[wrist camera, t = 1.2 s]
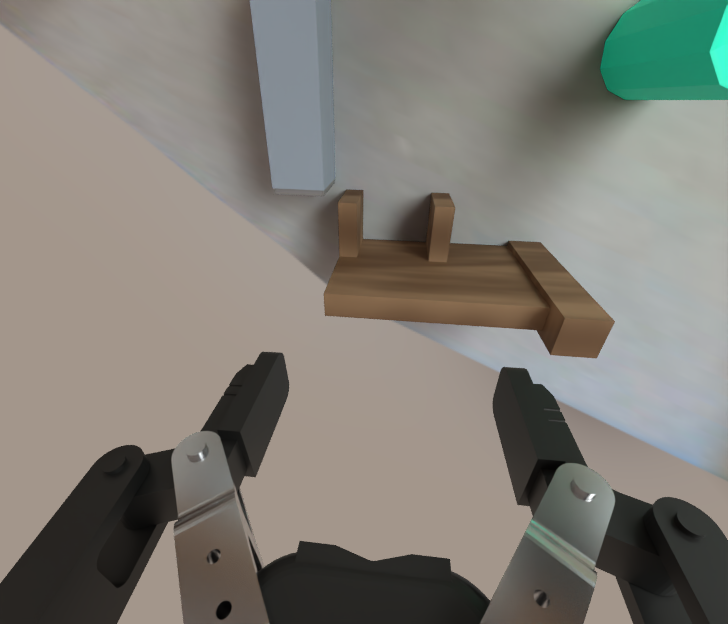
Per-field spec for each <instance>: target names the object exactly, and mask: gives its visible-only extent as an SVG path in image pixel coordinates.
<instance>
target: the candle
mask: <svg viewBox="0 0 728 624" xmlns="http://www.w3.org/2000/svg"><path fill="white" fill-rule="evenodd" d="M600 71H601V74H602V77H603V79H604V82H605V85H606V88H607V90H608V91H610V92H612V93H613V94H615V95H617V96H619V97H621V98H622V99H624V100H728V0H641V1H639V2H638V3H637V4H635V5H634V6H633V7H631V8H630V9H629V10H627V11H626V12H625V13H623V15H622V16H621V18H620V19H619V21H618V23H617V24H616V26H615V27H614V29H613V30H612V32H611V33H610V35H609V37H608V38H607V40H606V41H605V46H604V51H603V56H602V61H601V66H600Z"/></svg>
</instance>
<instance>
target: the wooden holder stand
mask: <svg viewBox="0 0 728 624" xmlns="http://www.w3.org/2000/svg"><path fill="white" fill-rule="evenodd" d="M454 213H455V206H454V203H453V201H452V199H451V197H450V195H449V193H431V202H430V210H429V219H428V228H427V236H426V242H414V241H393V240H373V239H363V190H346V191H345V193H344V194H343V196H342V197H341V199H340V200H339V202H338V222H339V256H340V257H339V259H338V261H337V264H336V266H335V268H334V271H333V273H332V275H331V278H330V280H329V282H328V285H327V287H326V290H325V292H324V304H325V305H324V306H325V316H340V317H354V318H369V319H383V320H397V321H412V322H427V323H441V324H456V325H471V326H485V327H500V328H514V329H529V330H537V332H538V334H539V335H540V337H541V339H542V341H543V343H544V344H545V346H546V348H547V350H548V351H549V353H550V355H559V356H572V357H586V358H597V357H598V355H599V353H600V351H601V349H602V347H603V345H604V343H605V340H606V338H607V336H608V334H609V332H610V330H611V328H612V326H613V324H614V322H615V321H614V320H613V319H612V318H611V317H610V316H609V315H608V314H607V313H606V312H605V310H604V309H603V308H602V307H601V306H600V305H599V304H598V303H597V302H596V301H595V300H594V299H593V298H592V297H591V296H590V294H589V293H588V292H587V291H586V290H585V289H584V288H583V287H582V286H581V285H580V284H579V283H578V282H577V281H576V280H575V279H574V277H573V276H572V275H571V274H570V273H569V272H568V271H567V270H566V269H565V268H564V267H563V266H562V265H561V264H560V263H559V262H558V260H557V259H556V258H555V257H554V256H553V255H552V254H551V253H550V252H549V251H548V250H547V249H546V248H545V247H544V246H543V245H542V243H541V242H522V241H509V242H508V246H496V245H476V244H455V243H450V238H451V232H452V225H453V219H454Z"/></svg>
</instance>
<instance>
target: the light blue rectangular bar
mask: <svg viewBox="0 0 728 624" xmlns="http://www.w3.org/2000/svg"><path fill="white" fill-rule="evenodd" d="M250 8H251V16H252V24H253V32H254V41H255V49H256V57H257V65H258V73H259V82H260V90H261V98H262V106H263V115H264V123H265V131H266V139H267V148H268V156H269V164H270V172H271V180H272V188H274V191H275V194H283V195H304V196H324V195H325V194H326V192H327V191H328V190H329V189H330V188H331V187H332V185H333V184H334V179H335V141H334V100H333V60H332V20H331V0H250Z"/></svg>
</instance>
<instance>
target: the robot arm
mask: <svg viewBox="0 0 728 624" xmlns="http://www.w3.org/2000/svg"><path fill="white" fill-rule="evenodd" d="M229 385H230V386H229V387H228V388H227V389H226V391H225V392H224V396H222V397H221V399H220V401H219V402H218V404H217V406H216V407H215V409H214V410H213V412H212V414H211V415H210V417H209V419H208V420H207V422H206V423H205V425H204V427H203V428H202V430H201V431H200V432H197V433H194V434H192V435H190V436H188V437H186V438H185V439H184V440H183V441H182V442H180V443H179V444H178V446H177V447H176V448H175V449H171V450H166V451H161V452H157V453H151V454H146V455H145V454H144V452H143V451H142V449H141V448H139V447H138V446H135V445H125V446H121V447H118V448H115V449H113V450H111V451H109V452H108V453H106V454H104V455H103V456H102V457H101V458H99V459H98V460H97V461H96V462H95V463H94V465H93V466H92V467H91V468H90V470H89V471H88V472H87V473H86V475H85V476H84V477H83V479H82V480H81V481H80V483H79V484H78V485H77V486H76V488H75V489H74V490H73V491H72V493H71V494H70V496H68V498H67V499H66V500H65V502H64V503H63V504H62V505H61V507H60V508H59V510H58V511H57V512H56V513H55V514H54V516H53V517H52V518H51V519H50V521H49V522H48V523H47V525H46V526H45V527H44V528H43V530H42V531H41V532H40V534H39V535H38V536H37V537H36V539H35V540H34V541H33V542H32V544H31V545H30V546H29V548H28V549H27V550H26V551H25V553H24V554H23V555H22V556H21V558H20V559H19V560H18V562H17V563H16V564H15V565H14V567H13V568H12V569H11V571H10V572H9V573H8V574H7V576H6V577H5V578H4V579H3V581H2V582H1V583H0V624H117V622H118V620H119V618H120V616H121V614H122V613H123V610H124V609H125V606H126V604H127V602H128V601H129V599H130V596H131V595H132V593H133V590H134V589H135V587H136V585H137V583H138V581H139V579H140V577H141V575H142V573H143V571H144V569H145V567H146V565H147V563H148V561H149V559H150V557H151V555H152V553H153V551H154V549H155V547H156V545H157V543H158V541H159V539H160V537H161V535H162V533H163V531H164V529H165V527H166V525H167V523H168V522H169V521H174V520H178V521H177V522H176V523H175V524H174V540H175V549H176V558H177V567H178V576H179V586H180V595H181V604H182V613H183V622H184V624H583V623H584V620H585V617H586V613H587V610H588V607H589V604H590V601H591V597H592V594H593V591H594V588H595V584H596V579H597V572H596V571H594V569H595V567H597V568H599V569H601V570H603V571H605V572H607V573H610V574H612V575H614V576H616V579H617V582H618V584H619V587H620V590H621V592H622V595H623V597H624V600H625V603H626V605H627V608H628V611H629V613H630V616H631V619H632V621H633V624H728V540H727V538H726V537H725V535H724V534H723V532H722V531H721V530H720V528H719V527H718V525H717V524H716V523H715V522H714V521H713V520H712V519H711V518H710V517H709V516H708V515H706V514H705V513H704V512H702V511H701V510H700V509H698V508H696V507H695V506H693V505H692V504H690V503H688V502H685V501H683V500H680V499H677V498H672V497H664V498H660V499H658V500H657V501H656V502H655V503H654V504H653V505H652V504H649V503H646V502H643V501H641V500H638V499H635V498H633V497H630V496H627V495H624V494H622V493H619V492H617V491H615V490H613V489H611V487H610V485H609V484H608V483H607V482H606V480H605V479H604V478H603V477H602V476H600V475H599V474H598V473H597V472H595V471H594V470H592V469H590V468H588V466H587V465H586V463H585V461H584V458H583V456H582V454H581V452H580V450H579V448H578V446H577V444H576V442H575V440H574V438H573V435H572V433H571V431H570V429H569V427H568V425H567V423H565V419H564V417H563V415H562V412H560V408H559V406H558V404H557V402H556V400H555V398H554V396H553V395H552V394H551V393H550V392H549V391H548V390H547V389H546V388H545V387H544V386H543V385H542V384H533V382H532V380H531V377H530V375H529V373H528V371H527V369H525V368H510V367H503V368H502V369H501V371H500V375H499V379H498V382H497V386H496V390H495V393H494V397H493V413H494V418H495V421H496V425H497V429H498V433H499V437H500V440H501V444H502V448H503V452H504V456H505V459H506V463H507V467H508V471H509V474H510V478H511V482H512V485H513V490H514V493H515V497H516V501H517V504H518V505H525V506H530V508H531V511H532V515H533V518H532V520H531V522H530V524H529V526H528V527H527V529H526V531H525V533H524V536H523V538H522V539H521V542H520V544H519V546H518V547H517V549H516V551H515V553H514V556H513V557H512V559H511V561H510V564H509V565H508V567H507V569H506V571H505V573H504V575H503V577H502V579H501V581H500V583H499V585H498V587H497V589H496V591H495V593H494V595H493V597H492V599H491V601H490V600H489V599H488V598H487V597H486V596H485V595H484V594H483V593H482V592H481V591H480V590H479V589H478V588H477V587H476V586H475V585H473V584H472V583H471V582H469V581H468V580H467V579H465V578H463V577H462V576H460V575H458V574H456V573H454V572H452V571H451V566H450V559H447V558H437V557H429V556H422V555H413V554H411V555H406V556H400V557H395V558H390V559H384V560H378V561H370V560H367V559H365V558H363V557H361V556H358V555H356V554H354V553H352V552H349V551H347V550H345V549H343V548H340V547H338V546H336V545H329V544H321V543H312V542H304V541H300V542H299V547H298V550H297V552H296V553H291V554H288V555H286V556H283V557H281V558H279V559H277V560H274V561H273V562H271V563H270V564H268V565H267V566H265V567H264V565H263V562H262V558H261V556H260V552H259V550H258V547H257V544H256V541H255V537H254V534H253V531H252V527H251V524H250V520H249V517H248V514H247V510H246V507H245V503H244V500H243V497H242V493H241V489H240V485H241V483H242V480H243V478H244V476H250V477H256V475H257V472H258V470H259V467H260V465H261V462H262V460H263V457H264V455H265V452H266V449H267V447H268V444H269V442H270V440H271V437H272V435H273V432H274V430H275V427H276V424H277V422H278V419H279V417H280V415H281V412H282V409H283V407H284V404H285V402H286V399H287V396H288V392H289V380H288V375H287V370H286V364H285V360H284V356H283V354H282V353H276V352H262V353H261V354H260V355H259V357H258V358H257V360H256V362H255V364H254V365H248V364H247V365H246V366H245V367H243V368H242V369H241V370H240V371H239V372H237V373H236V375H235V376H234V378H233V379H232V381H231V383H230V384H229Z"/></svg>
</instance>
